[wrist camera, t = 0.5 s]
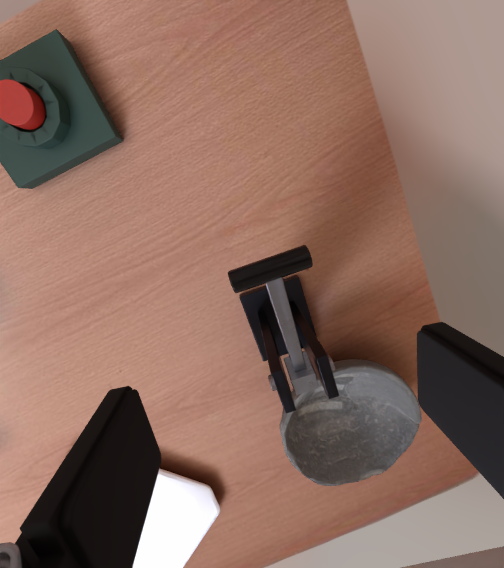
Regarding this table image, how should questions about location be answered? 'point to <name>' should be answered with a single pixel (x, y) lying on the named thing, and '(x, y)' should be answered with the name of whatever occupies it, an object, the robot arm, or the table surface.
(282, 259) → the lever
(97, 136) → the button box
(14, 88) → the button
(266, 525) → the table surface
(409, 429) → the bowl
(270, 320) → the bracket
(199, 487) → the plate
